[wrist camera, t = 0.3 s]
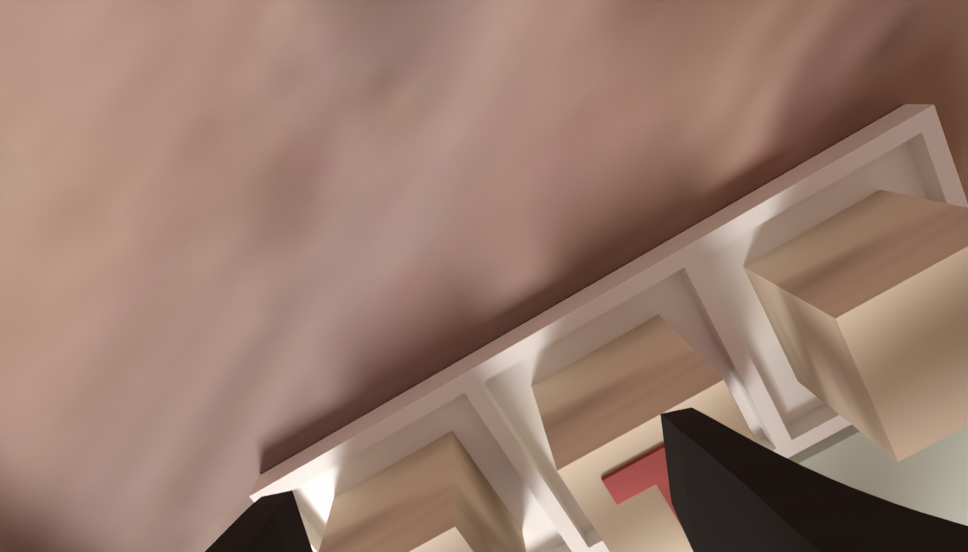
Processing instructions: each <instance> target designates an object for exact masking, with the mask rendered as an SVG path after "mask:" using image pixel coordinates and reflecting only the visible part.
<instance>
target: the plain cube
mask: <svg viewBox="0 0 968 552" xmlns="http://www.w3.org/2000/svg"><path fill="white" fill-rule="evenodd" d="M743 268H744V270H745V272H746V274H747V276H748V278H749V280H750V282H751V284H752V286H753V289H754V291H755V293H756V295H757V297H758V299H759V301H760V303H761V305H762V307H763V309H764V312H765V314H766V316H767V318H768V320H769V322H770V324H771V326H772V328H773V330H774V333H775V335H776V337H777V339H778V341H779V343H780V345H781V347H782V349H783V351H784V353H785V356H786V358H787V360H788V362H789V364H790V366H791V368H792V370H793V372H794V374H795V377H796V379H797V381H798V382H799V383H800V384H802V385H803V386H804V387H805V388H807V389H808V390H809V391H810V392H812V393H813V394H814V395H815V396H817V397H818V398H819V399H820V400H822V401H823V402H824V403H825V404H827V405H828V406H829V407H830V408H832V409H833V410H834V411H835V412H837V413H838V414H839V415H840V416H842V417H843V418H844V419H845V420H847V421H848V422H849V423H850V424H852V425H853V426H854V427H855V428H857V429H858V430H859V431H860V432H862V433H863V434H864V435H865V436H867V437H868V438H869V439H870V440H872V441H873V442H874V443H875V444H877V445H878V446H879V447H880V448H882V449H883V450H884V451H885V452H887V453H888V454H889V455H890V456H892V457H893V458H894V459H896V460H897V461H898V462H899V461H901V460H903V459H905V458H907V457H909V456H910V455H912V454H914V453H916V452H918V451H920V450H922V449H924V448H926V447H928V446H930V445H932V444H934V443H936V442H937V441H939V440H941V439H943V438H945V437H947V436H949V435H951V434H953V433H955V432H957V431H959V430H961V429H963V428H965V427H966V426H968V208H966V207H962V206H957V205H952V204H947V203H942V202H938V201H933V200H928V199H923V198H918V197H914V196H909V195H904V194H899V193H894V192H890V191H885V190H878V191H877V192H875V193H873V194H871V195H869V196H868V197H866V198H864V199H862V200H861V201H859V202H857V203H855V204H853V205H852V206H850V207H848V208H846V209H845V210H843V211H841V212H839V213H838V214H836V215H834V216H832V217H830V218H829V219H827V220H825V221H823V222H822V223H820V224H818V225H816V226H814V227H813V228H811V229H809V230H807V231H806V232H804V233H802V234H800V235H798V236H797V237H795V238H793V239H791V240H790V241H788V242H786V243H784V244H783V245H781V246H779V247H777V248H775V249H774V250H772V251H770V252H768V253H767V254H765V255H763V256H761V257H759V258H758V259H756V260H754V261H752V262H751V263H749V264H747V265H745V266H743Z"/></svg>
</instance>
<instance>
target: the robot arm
mask: <svg viewBox="0 0 968 552" xmlns="http://www.w3.org/2000/svg"><path fill="white" fill-rule="evenodd" d="M660 415H661V423H662V431H663V439H664V447H665V455H666V463H667V471H668V479H669V487H670V496H671V503H672V505H673V508H674V510H675V512H676V515H677V517H678V519H679V521H680V524H681V526H682V528H683V530H684V533H685V535H686V537H687V539H688V541H689V543H690V546H691V548H692V550H693V552H968V526H966V525H963V524H959V523H956V522H953V521H949V520H946V519H943V518H939V517H936V516H933V515H929V514H926V513H922V512H919V511H916V510H913V509H910V508H907V507H904V506H901V505H898V504H895V503H892V502H890V501H887V500H884V499H882V498H879V497H876V496H874V495H871V494H868V493H866V492H863V491H860V490H858V489H855V488H852V487H850V486H847V485H845V484H843V483H840V482H838V481H835V480H833V479H831V478H829V477H826V476H824V475H822V474H820V473H818V472H815V471H813V470H811V469H809V468H806V467H804V466H802V465H800V464H798V463H796V462H794V461H792V460H790V459H788V458H786V457H783V456H781V455H779V454H778V453H776V452H774V451H772V450H770V449H768V448H766V447H764V446H762V445H760V444H758V443H756V442H754V441H753V440H751V439H749V438H747V437H745V436H743V435H742V434H740V433H738V432H736V431H734V430H732V429H731V428H729V427H727V426H725V425H723V424H722V423H720V422H718V421H716V420H714V419H713V418H711V417H709V416H707V415H705V414H704V413H702V412H700V411H698V410H696V409H694V408H692V407H691V408H686V409H681V410H676V411H671V412H667V413H662V414H660ZM205 552H313V550H312V547H311V544H310V541H309V539H308V536H307V533H306V530H305V527H304V524H303V521H302V518H301V515H300V512H299V509H298V506H297V503H296V500H295V497H294V494H293V491H292V490H291V491H286V492H282V493H277V494H272V495H267V496H262V497H260V498H259V499H258V500H257V501H256V502H255V503H253V504H252V505H251V506H250V507H249V508H248V509H247V510H246V511H245V512H244V513H243V514H242V515H241V516H240V517H239V518H238V519H237V520H236V521H235V522H234V523H233V524H232V525H231V526H230V527H229V528H228V529H227V530H226V531H225V532H224V533H223V534H222V535H221V536H220V537H219V538H218V539H217V540H216V541H215V542H214V543H213V544H212V545H211V546H210V547H209V548H208V549H207V550H206V551H205Z"/></svg>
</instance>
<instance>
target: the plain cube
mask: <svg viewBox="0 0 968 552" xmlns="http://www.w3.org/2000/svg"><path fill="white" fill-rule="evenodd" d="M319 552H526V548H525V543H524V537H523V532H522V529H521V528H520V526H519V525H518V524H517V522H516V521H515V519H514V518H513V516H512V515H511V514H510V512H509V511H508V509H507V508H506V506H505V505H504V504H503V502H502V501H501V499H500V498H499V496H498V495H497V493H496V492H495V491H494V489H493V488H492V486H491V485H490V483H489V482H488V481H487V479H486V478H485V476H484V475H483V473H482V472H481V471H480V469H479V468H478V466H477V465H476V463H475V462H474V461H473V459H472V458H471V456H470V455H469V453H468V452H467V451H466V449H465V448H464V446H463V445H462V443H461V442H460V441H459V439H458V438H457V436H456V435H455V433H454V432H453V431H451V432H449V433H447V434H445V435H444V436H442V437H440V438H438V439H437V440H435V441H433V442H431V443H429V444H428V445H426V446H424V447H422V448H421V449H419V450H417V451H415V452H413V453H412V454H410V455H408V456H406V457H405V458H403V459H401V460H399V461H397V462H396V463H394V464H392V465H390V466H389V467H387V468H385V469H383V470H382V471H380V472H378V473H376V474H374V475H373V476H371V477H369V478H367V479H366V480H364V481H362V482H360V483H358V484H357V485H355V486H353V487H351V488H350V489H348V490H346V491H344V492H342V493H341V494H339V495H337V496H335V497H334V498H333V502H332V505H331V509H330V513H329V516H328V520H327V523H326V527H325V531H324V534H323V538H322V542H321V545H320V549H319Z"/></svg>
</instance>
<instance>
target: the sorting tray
mask: <svg viewBox="0 0 968 552" xmlns="http://www.w3.org/2000/svg"><path fill="white" fill-rule="evenodd" d="M878 190H885V191H890V192H894V193H899V194H904V195H909V196H914V197H918V198H923V199H928V200H933V201H938V202H942V203H947V204H952V205H957V206H962V207H966V208H968V202H967V199H966V196H965V193H964V191H963V188H962V185H961V182H960V179H959V176H958V173H957V170H956V167H955V164H954V161H953V158H952V155H951V153H950V150H949V147H948V144H947V141H946V138H945V135H944V132H943V129H942V126H941V123H940V120H939V117H938V115H937V112H936V109H935V106H934V104H904V105H903V106H901V107H899V108H897V109H896V110H894V111H892V112H891V113H889V114H887V115H885V116H884V117H882V118H880V119H878V120H877V121H875V122H873V123H871V124H870V125H868V126H866V127H864V128H863V129H861V130H859V131H857V132H856V133H854V134H852V135H851V136H849V137H847V138H845V139H844V140H842V141H840V142H838V143H837V144H835V145H833V146H831V147H830V148H828V149H826V150H824V151H823V152H821V153H819V154H817V155H816V156H814V157H812V158H811V159H809V160H807V161H805V162H804V163H802V164H800V165H798V166H797V167H795V168H793V169H791V170H790V171H788V172H786V173H784V174H783V175H781V176H779V177H777V178H776V179H774V180H772V181H771V182H769V183H767V184H765V185H764V186H762V187H760V188H758V189H757V190H755V191H753V192H751V193H750V194H748V195H746V196H744V197H743V198H741V199H739V200H737V201H736V202H734V203H732V204H731V205H729V206H727V207H725V208H724V209H722V210H720V211H718V212H717V213H715V214H713V215H711V216H710V217H708V218H706V219H704V220H703V221H701V222H699V223H698V224H696V225H694V226H692V227H691V228H689V229H687V230H685V231H684V232H682V233H680V234H678V235H677V236H675V237H673V238H671V239H670V240H668V241H666V242H664V243H663V244H661V245H659V246H658V247H656V248H654V249H652V250H651V251H649V252H647V253H645V254H644V255H642V256H640V257H638V258H637V259H635V260H633V261H631V262H630V263H628V264H626V265H624V266H623V267H621V268H619V269H618V270H616V271H614V272H612V273H611V274H609V275H607V276H605V277H604V278H602V279H600V280H598V281H597V282H595V283H593V284H591V285H590V286H588V287H586V288H584V289H583V290H581V291H579V292H578V293H576V294H574V295H572V296H571V297H569V298H567V299H565V300H564V301H562V302H560V303H558V304H557V305H555V306H553V307H551V308H550V309H548V310H546V311H544V312H543V313H541V314H539V315H538V316H536V317H534V318H532V319H531V320H529V321H527V322H525V323H524V324H522V325H520V326H518V327H517V328H515V329H513V330H511V331H510V332H508V333H506V334H504V335H503V336H501V337H499V338H498V339H496V340H494V341H492V342H491V343H489V344H487V345H485V346H484V347H482V348H480V349H478V350H477V351H475V352H473V353H471V354H470V355H468V356H466V357H464V358H463V359H461V360H459V361H458V362H456V363H454V364H452V365H451V366H449V367H447V368H445V369H444V370H442V371H440V372H438V373H437V374H435V375H433V376H431V377H430V378H428V379H426V380H425V381H423V382H421V383H419V384H418V385H416V386H414V387H412V388H411V389H409V390H407V391H405V392H404V393H402V394H400V395H398V396H397V397H395V398H393V399H391V400H390V401H388V402H386V403H385V404H383V405H381V406H379V407H378V408H376V409H374V410H372V411H371V412H369V413H367V414H365V415H364V416H362V417H360V418H358V419H357V420H355V421H353V422H351V423H350V424H348V425H346V426H345V427H343V428H341V429H339V430H338V431H336V432H334V433H332V434H331V435H329V436H327V437H325V438H324V439H322V440H320V441H318V442H317V443H315V444H313V445H311V446H310V447H308V448H306V449H305V450H303V451H301V452H299V453H298V454H296V455H294V456H292V457H291V458H289V459H287V460H285V461H284V462H282V463H280V464H278V465H277V466H275V467H273V468H271V469H270V470H268V471H266V472H265V473H263V474H261V475H259V477H258V479H257V481H256V483H255V485H254V487H253V489H252V492H251V494H250V496H249V497H250V498H251V499H252V500H253V502H254V503H255V502H256V501H257V500H258V499H259V498H260V497H262V496H267V495H272V494H277V493H282V492H286V491H291V490H292V491H293V494H294V497H295V500H296V503H297V506H298V509H299V512H300V515H301V518H302V521H303V524H304V527H305V530H306V533H307V536H308V539H309V541H310V544H311V547H312V550H313V552H319V549H320V545H321V542H322V538H323V534H324V531H325V527H326V523H327V520H328V516H329V513H330V509H331V505H332V502H333V498H334V497H335V496H337V495H339V494H341V493H342V492H344V491H346V490H348V489H350V488H351V487H353V486H355V485H357V484H358V483H360V482H362V481H364V480H366V479H367V478H369V477H371V476H373V475H374V474H376V473H378V472H380V471H382V470H383V469H385V468H387V467H389V466H390V465H392V464H394V463H396V462H397V461H399V460H401V459H403V458H405V457H406V456H408V455H410V454H412V453H413V452H415V451H417V450H419V449H421V448H422V447H424V446H426V445H428V444H429V443H431V442H433V441H435V440H437V439H438V438H440V437H442V436H444V435H445V434H447V433H449V432H451V431H453V432H454V433H455V435H456V436H457V438H458V439H459V441H460V442H461V443H462V445H463V446H464V448H465V449H466V451H467V452H468V453H469V455H470V456H471V458H472V459H473V461H474V462H475V463H476V465H477V466H478V468H479V469H480V471H481V472H482V473H483V475H484V476H485V478H486V479H487V481H488V482H489V483H490V485H491V486H492V488H493V489H494V491H495V492H496V493H497V495H498V496H499V498H500V499H501V501H502V502H503V504H504V505H505V506H506V508H507V509H508V511H509V512H510V514H511V515H512V516H513V518H514V519H515V521H516V522H517V524H518V525H519V526H520V528H521V529H522V532H523V537H524V543H525V548H526V552H610V551H609V550H608V548H607V547H606V545H605V544H604V542H603V541H602V539H601V538H600V536H599V535H598V533H597V531H596V530H595V528H594V527H593V525H592V524H591V522H590V521H589V519H588V518H587V516H586V515H585V513H584V512H583V510H582V508H581V507H580V505H579V504H578V502H577V501H576V499H575V498H574V496H573V495H572V493H571V492H570V490H569V489H568V487H567V485H566V484H565V482H564V481H563V479H562V478H561V476H560V475H559V473H558V472H557V469H556V466H555V463H554V459H553V456H552V453H551V450H550V446H549V443H548V440H547V436H546V433H545V430H544V427H543V423H542V420H541V417H540V414H539V410H538V407H537V404H536V400H535V397H534V394H533V391H532V387H531V386H532V385H534V384H536V383H538V382H539V381H541V380H543V379H545V378H547V377H548V376H550V375H552V374H554V373H555V372H557V371H559V370H561V369H562V368H564V367H566V366H568V365H570V364H571V363H573V362H575V361H577V360H578V359H580V358H582V357H584V356H586V355H587V354H589V353H591V352H593V351H594V350H596V349H598V348H600V347H602V346H603V345H605V344H607V343H609V342H610V341H612V340H614V339H616V338H618V337H619V336H621V335H623V334H625V333H626V332H628V331H630V330H632V329H633V328H635V327H637V326H639V325H641V324H642V323H644V322H646V321H648V320H649V319H651V318H653V317H655V316H657V315H658V314H659V315H660V316H661V317H662V318H663V319H664V320H665V321H666V322H667V323H668V324H669V325H670V326H671V327H672V328H673V329H674V330H675V331H676V332H677V333H678V334H679V335H680V336H681V337H682V338H683V339H684V340H685V341H686V342H687V343H688V344H689V345H690V346H691V347H692V348H693V349H694V350H695V351H696V352H697V353H698V354H699V355H700V356H701V357H702V358H703V359H704V360H705V361H706V362H707V363H708V364H709V365H710V366H711V367H712V368H713V369H714V370H715V371H716V372H717V373H718V374H719V375H720V376H721V378H722V379H723V380H724V381H725V383H726V385H727V387H728V389H729V390H730V392H731V394H732V396H733V398H734V400H735V402H736V403H737V405H738V407H739V409H740V411H741V413H742V415H743V417H744V419H745V421H746V423H747V425H748V427H749V428H750V430H751V432H752V434H753V436H754V438H755V440H756V442H757V443H758V444H760V445H762V446H764V447H766V448H768V449H770V450H772V451H774V452H776V453H778V454H779V455H781V456H783V457H786V458H789V457H791V456H793V455H795V454H796V453H798V452H800V451H802V450H804V449H806V448H808V447H810V446H812V445H814V444H815V443H817V442H819V441H821V440H823V439H825V438H827V437H829V436H831V435H832V434H834V433H836V432H838V431H840V430H842V429H844V428H846V427H848V426H850V425H851V424H850V423H849V422H848V421H847V420H845V419H844V418H843V417H842V416H840V415H839V414H838V413H837V412H835V411H834V410H833V409H832V408H830V407H829V406H828V405H827V404H825V403H824V402H823V401H822V400H820V399H819V398H818V397H817V396H815V395H814V394H813V393H812V392H810V391H809V390H808V389H807V388H805V387H804V386H803V385H802V384H800V383H799V382H798V381H797V379H796V377H795V374H794V372H793V370H792V368H791V366H790V364H789V362H788V360H787V358H786V356H785V353H784V351H783V349H782V347H781V345H780V343H779V341H778V339H777V337H776V335H775V333H774V330H773V328H772V326H771V324H770V322H769V320H768V318H767V316H766V314H765V312H764V309H763V307H762V305H761V303H760V301H759V299H758V297H757V295H756V293H755V291H754V289H753V286H752V284H751V282H750V280H749V278H748V276H747V274H746V272H745V270H744V268H743V266H745V265H747V264H749V263H751V262H752V261H754V260H756V259H758V258H759V257H761V256H763V255H765V254H767V253H768V252H770V251H772V250H774V249H775V248H777V247H779V246H781V245H783V244H784V243H786V242H788V241H790V240H791V239H793V238H795V237H797V236H798V235H800V234H802V233H804V232H806V231H807V230H809V229H811V228H813V227H814V226H816V225H818V224H820V223H822V222H823V221H825V220H827V219H829V218H830V217H832V216H834V215H836V214H838V213H839V212H841V211H843V210H845V209H846V208H848V207H850V206H852V205H853V204H855V203H857V202H859V201H861V200H862V199H864V198H866V197H868V196H869V195H871V194H873V193H875V192H877V191H878Z"/></svg>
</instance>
